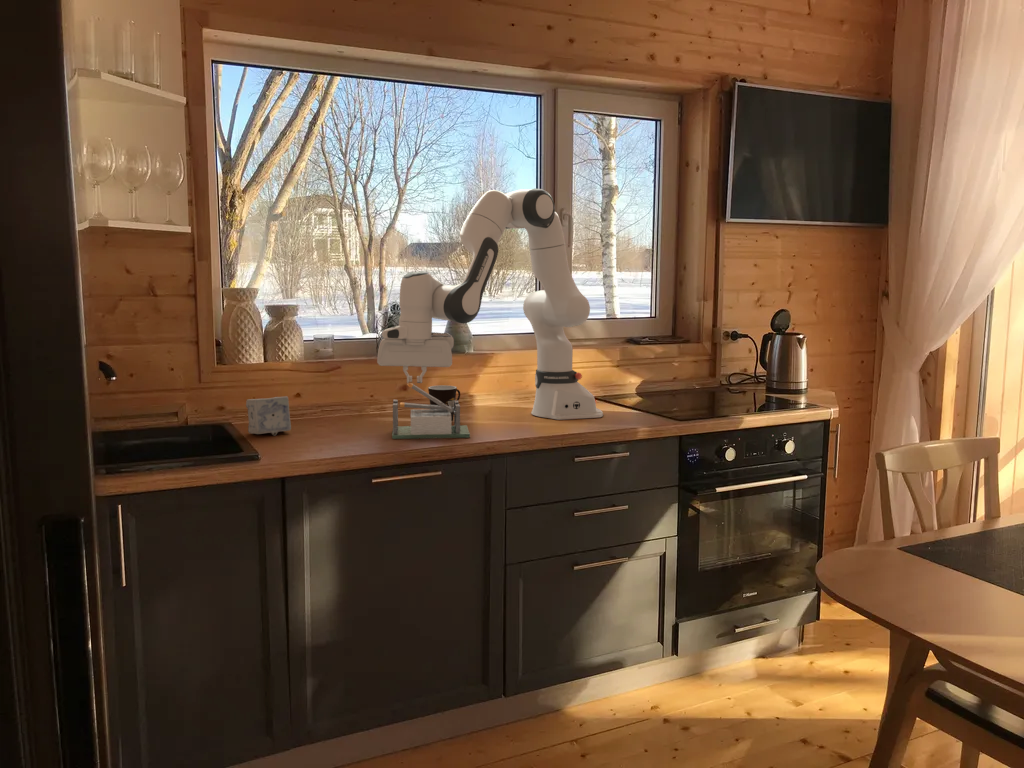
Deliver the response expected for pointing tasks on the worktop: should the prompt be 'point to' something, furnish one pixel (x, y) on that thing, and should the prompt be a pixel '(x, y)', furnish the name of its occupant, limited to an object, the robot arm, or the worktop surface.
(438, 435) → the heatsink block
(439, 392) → the coffee mug
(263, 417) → the incense holder
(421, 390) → the strap
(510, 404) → the worktop surface
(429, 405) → the silver flat bar
